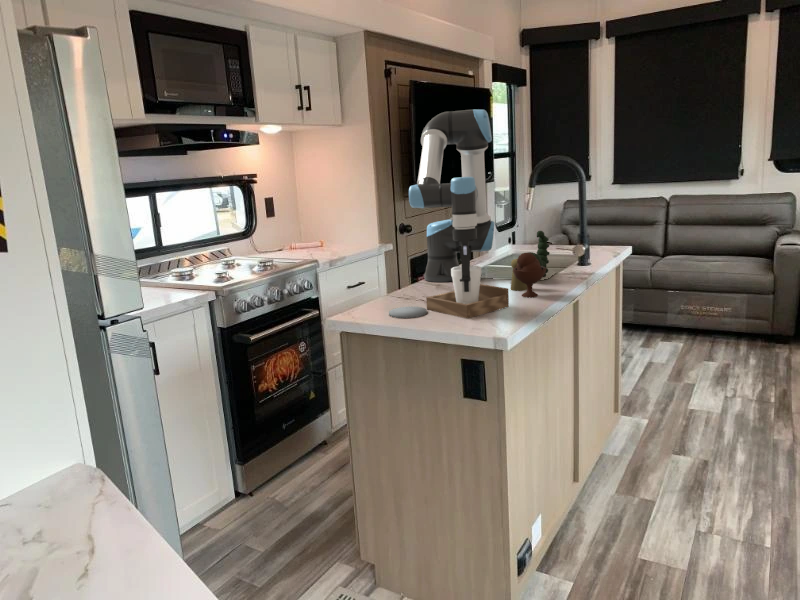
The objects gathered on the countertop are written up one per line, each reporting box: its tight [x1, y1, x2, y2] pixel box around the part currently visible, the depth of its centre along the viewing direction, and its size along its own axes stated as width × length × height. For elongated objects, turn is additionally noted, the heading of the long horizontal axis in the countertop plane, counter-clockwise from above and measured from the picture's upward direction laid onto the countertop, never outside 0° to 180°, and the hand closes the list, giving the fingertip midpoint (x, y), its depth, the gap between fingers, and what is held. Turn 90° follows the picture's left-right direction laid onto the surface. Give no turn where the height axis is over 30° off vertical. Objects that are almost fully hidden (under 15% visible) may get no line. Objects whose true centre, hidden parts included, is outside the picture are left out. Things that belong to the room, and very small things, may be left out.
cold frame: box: [425, 283, 510, 319], centre depth 197 cm, size 18×18×6 cm
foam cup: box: [451, 265, 482, 304], centre depth 197 cm, size 10×9×13 cm
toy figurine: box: [526, 230, 550, 278], centre depth 236 cm, size 9×19×25 cm
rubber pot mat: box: [388, 306, 428, 319], centre depth 196 cm, size 12×12×1 cm
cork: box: [510, 258, 527, 292], centre depth 220 cm, size 6×6×11 cm
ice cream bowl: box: [512, 252, 547, 299], centre depth 208 cm, size 11×11×15 cm
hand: (467, 298), depth 197 cm, fingers closed on foam cup, 9 cm apart
